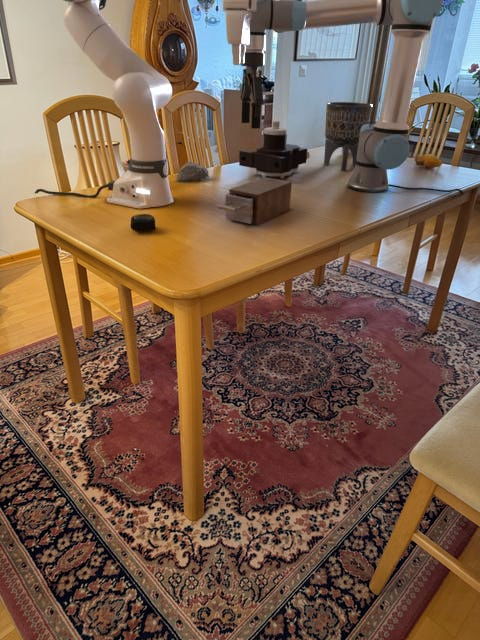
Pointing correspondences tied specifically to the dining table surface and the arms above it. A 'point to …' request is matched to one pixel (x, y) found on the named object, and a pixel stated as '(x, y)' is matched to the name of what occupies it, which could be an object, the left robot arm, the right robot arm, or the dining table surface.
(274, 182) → the cabinet
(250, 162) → the mechanical component
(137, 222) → the tape measure
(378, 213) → the dining table surface
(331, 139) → the planter
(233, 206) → the drawer
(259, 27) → the right robot arm
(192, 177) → the rock
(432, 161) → the toy
